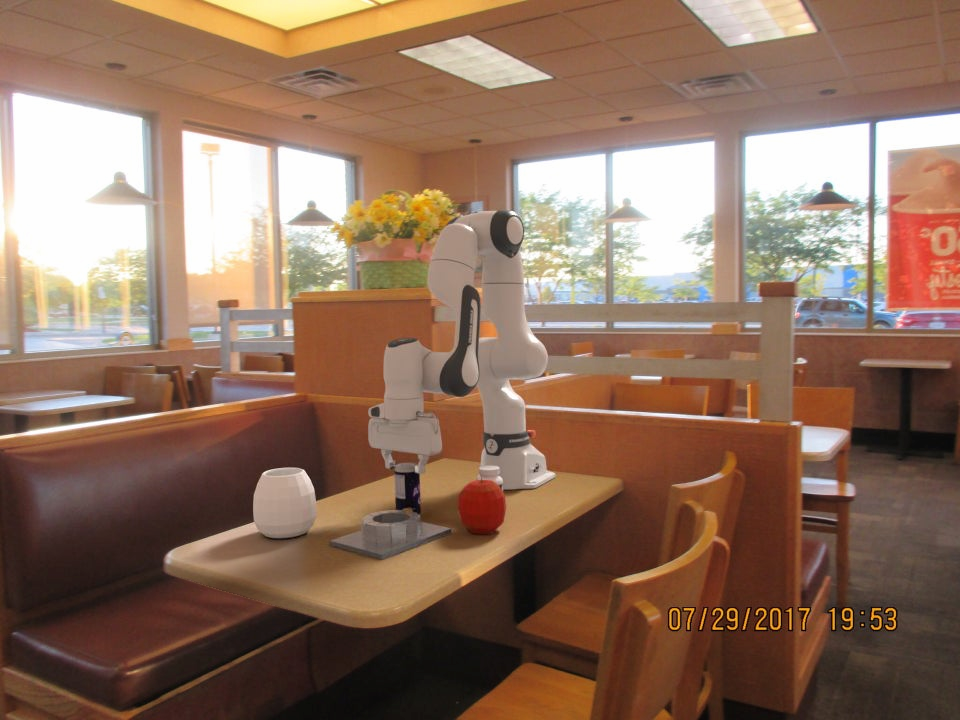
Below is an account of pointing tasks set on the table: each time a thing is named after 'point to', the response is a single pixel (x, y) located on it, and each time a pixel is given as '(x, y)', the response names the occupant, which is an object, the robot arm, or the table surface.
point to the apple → (482, 506)
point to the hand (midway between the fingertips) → (405, 471)
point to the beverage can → (407, 487)
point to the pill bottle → (490, 474)
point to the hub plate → (388, 548)
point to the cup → (284, 503)
